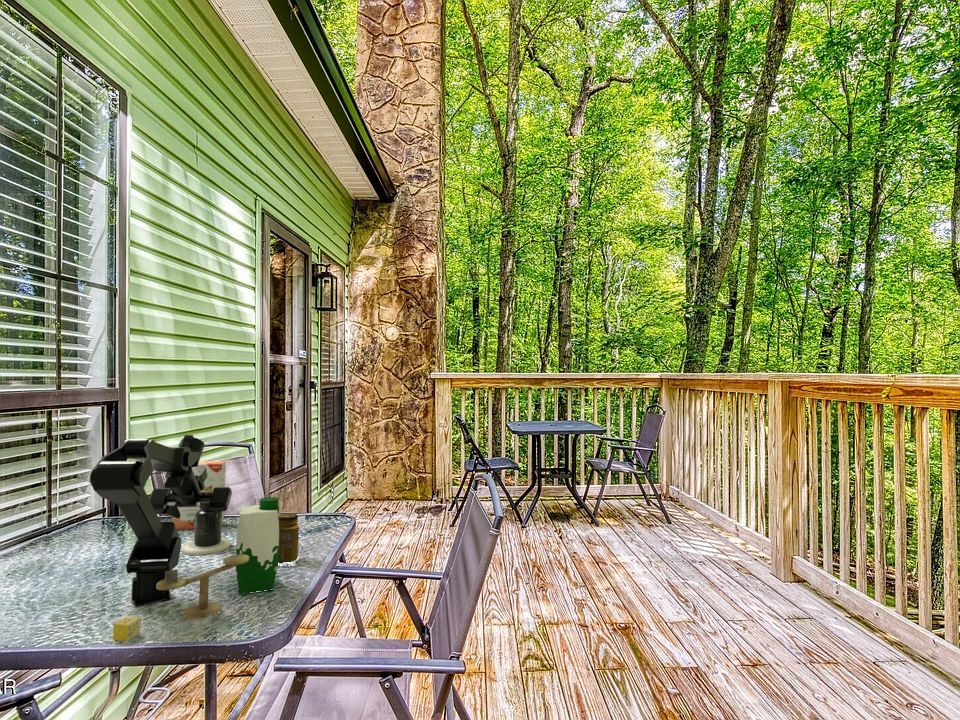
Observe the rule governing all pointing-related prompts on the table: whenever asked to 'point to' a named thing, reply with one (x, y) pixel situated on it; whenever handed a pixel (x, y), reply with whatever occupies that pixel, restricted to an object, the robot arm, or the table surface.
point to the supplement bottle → (207, 527)
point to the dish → (205, 548)
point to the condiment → (288, 537)
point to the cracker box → (213, 480)
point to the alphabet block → (126, 628)
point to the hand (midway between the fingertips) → (197, 516)
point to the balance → (204, 607)
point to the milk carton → (258, 546)
